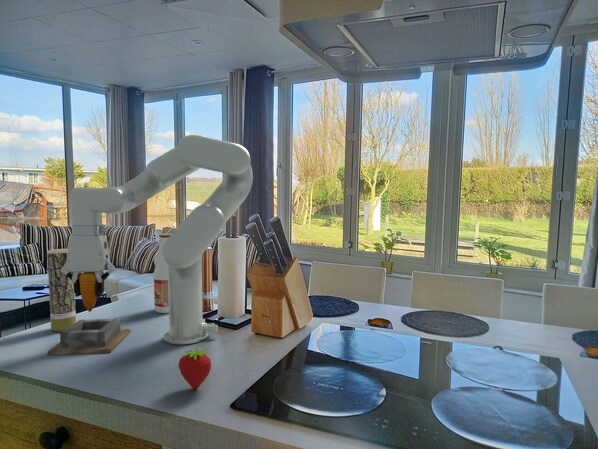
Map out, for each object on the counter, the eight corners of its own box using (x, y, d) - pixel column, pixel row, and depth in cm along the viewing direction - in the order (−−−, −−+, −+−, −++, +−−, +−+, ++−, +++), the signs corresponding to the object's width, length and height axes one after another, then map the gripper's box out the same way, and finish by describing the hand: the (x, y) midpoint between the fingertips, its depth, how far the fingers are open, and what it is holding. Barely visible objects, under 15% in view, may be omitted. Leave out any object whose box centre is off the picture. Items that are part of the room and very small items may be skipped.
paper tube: (68, 332, 122) (64, 251, 120) (46, 332, 122) (42, 251, 120) (80, 325, 129) (77, 248, 127) (59, 325, 129) (56, 248, 127)
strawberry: (190, 379, 91) (189, 336, 91) (217, 385, 88) (217, 341, 88) (172, 391, 86) (171, 346, 85) (200, 398, 83) (199, 351, 82)
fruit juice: (175, 314, 141) (173, 235, 139) (150, 313, 142) (147, 235, 140) (185, 306, 150) (183, 232, 148) (161, 306, 151) (159, 232, 149)
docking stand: (130, 332, 123) (130, 316, 122) (110, 352, 107) (109, 334, 106) (76, 333, 121) (75, 317, 121) (47, 354, 105) (47, 336, 105)
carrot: (77, 314, 110) (76, 261, 109) (82, 309, 115) (80, 258, 114) (97, 313, 112) (96, 260, 110) (101, 308, 116) (99, 257, 115)
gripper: (123, 230, 116) (125, 292, 117) (62, 230, 115) (64, 292, 116) (113, 232, 109) (115, 298, 110) (48, 232, 107) (50, 299, 108)
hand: (89, 294), depth 113 cm, fingers closed on carrot, 4 cm apart
